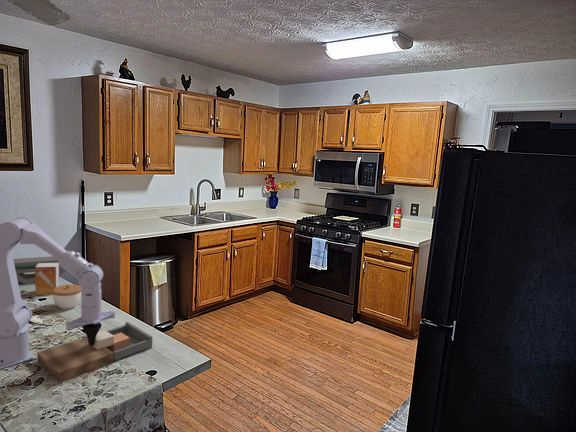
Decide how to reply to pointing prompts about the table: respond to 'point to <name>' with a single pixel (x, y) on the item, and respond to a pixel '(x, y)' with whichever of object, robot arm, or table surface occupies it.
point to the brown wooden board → (73, 359)
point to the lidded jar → (67, 296)
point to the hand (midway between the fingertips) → (91, 344)
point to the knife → (36, 319)
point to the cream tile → (103, 340)
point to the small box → (46, 278)
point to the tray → (131, 341)
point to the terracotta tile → (120, 342)
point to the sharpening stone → (31, 268)
